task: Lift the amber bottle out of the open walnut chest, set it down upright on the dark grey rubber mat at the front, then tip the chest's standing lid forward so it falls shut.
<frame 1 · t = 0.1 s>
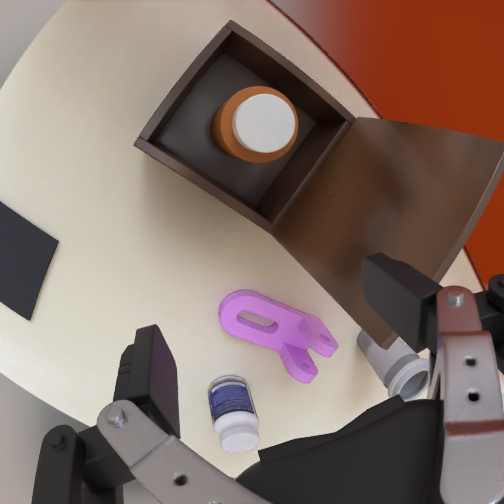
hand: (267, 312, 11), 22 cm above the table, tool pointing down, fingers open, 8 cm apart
lid: (374, 199, 19), point 15 cm above the table, hinge at 97.0°
bracket: (267, 320, 38), on the table
cup: (370, 335, 43), on the table
pill bottle: (227, 387, 41), on the table
mat: (4, 257, 28), on the table
chest: (237, 128, 30), on the table
bottle: (238, 128, 29), point 1 cm above the table, touching chest
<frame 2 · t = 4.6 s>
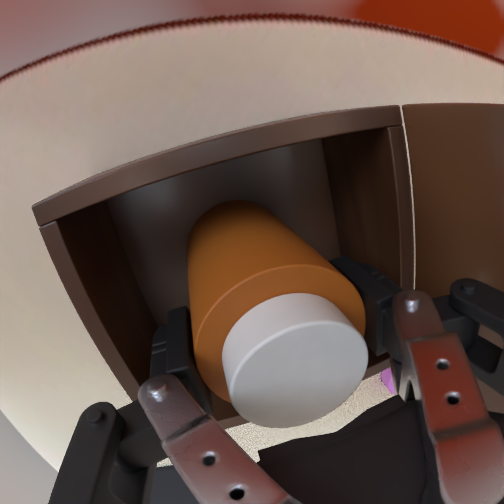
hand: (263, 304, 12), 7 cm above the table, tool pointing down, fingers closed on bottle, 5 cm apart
mat: (163, 492, 27), on the table
chest: (235, 244, 18), on the table
bottle: (237, 249, 18), point 1 cm above the table, touching chest, gripper
when the fingers open (7 cm above the table, at t = 12.8 s): bottle stays where it is, resting on mat.
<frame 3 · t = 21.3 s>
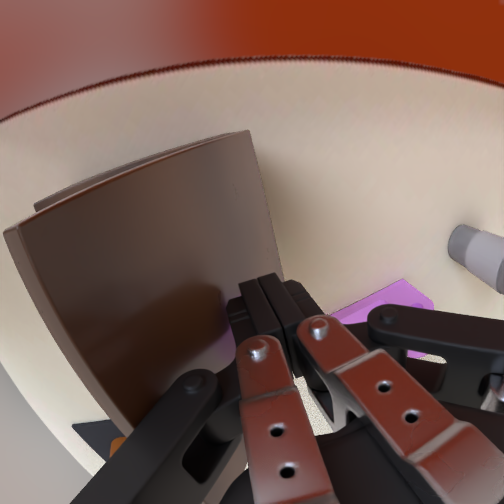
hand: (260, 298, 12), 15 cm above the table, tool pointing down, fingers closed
lid: (228, 302, 13), point 14 cm above the table, hinge at 62.3°
bracket: (357, 321, 33), on the table
cup: (458, 241, 33), on the table
mat: (131, 445, 34), on the table
chest: (166, 230, 25), on the table
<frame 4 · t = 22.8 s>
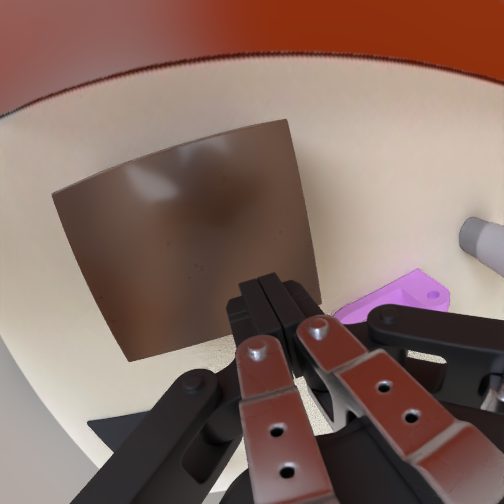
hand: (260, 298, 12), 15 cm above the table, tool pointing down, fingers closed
lid: (194, 252, 19), point 8 cm above the table, hinge at -0.2°
bracket: (375, 310, 34), on the table
cup: (468, 233, 34), on the table
mat: (147, 441, 34), on the table
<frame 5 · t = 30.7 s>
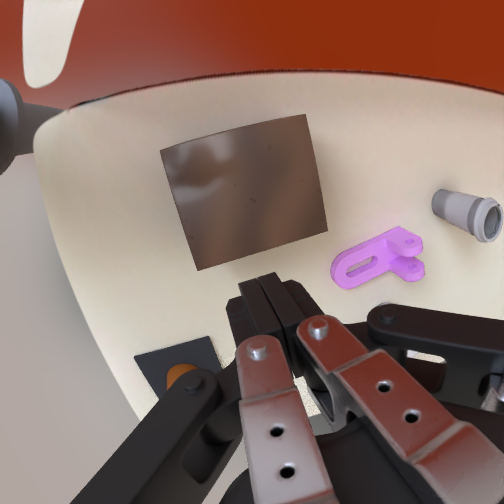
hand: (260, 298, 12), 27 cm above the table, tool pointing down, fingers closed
lid: (249, 191, 30), point 8 cm above the table, hinge at -0.2°
bracket: (367, 257, 46), on the table
cup: (440, 202, 45), on the table
mat: (184, 374, 46), on the table
bottle: (184, 376, 45), resting on mat
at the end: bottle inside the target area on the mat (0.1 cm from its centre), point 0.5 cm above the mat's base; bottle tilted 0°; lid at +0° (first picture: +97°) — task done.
